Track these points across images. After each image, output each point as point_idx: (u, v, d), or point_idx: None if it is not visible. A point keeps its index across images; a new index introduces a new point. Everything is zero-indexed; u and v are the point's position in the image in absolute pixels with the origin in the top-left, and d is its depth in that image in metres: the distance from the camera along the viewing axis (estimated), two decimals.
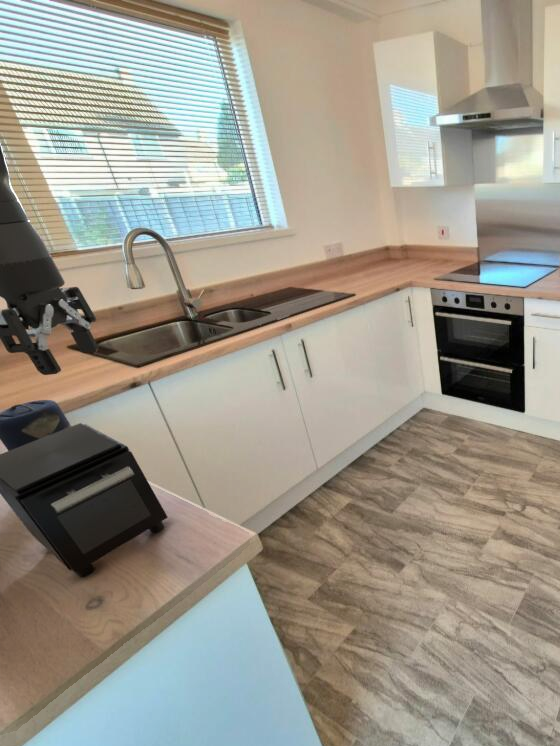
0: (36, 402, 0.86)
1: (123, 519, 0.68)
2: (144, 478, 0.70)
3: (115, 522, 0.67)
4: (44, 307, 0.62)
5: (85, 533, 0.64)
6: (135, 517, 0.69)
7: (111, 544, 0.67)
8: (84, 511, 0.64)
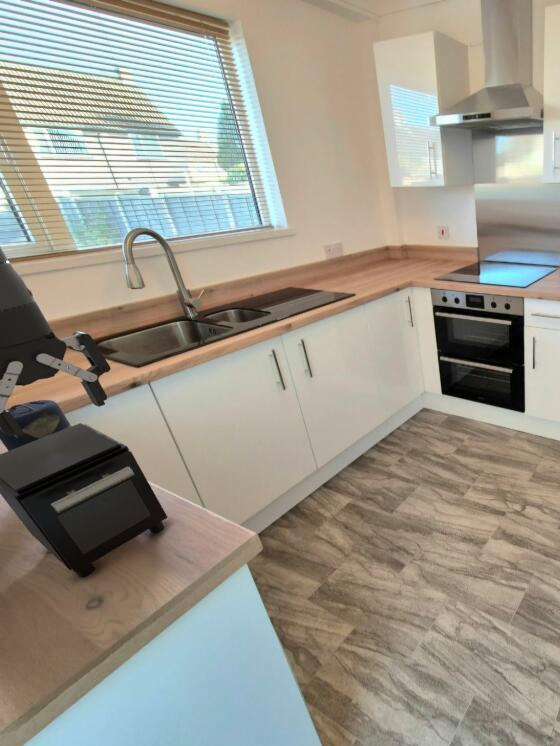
0: (36, 402, 0.86)
1: (123, 519, 0.68)
2: (144, 478, 0.70)
3: (115, 522, 0.67)
4: (8, 365, 0.52)
5: (85, 533, 0.64)
6: (135, 517, 0.69)
7: (111, 544, 0.67)
8: (84, 511, 0.64)
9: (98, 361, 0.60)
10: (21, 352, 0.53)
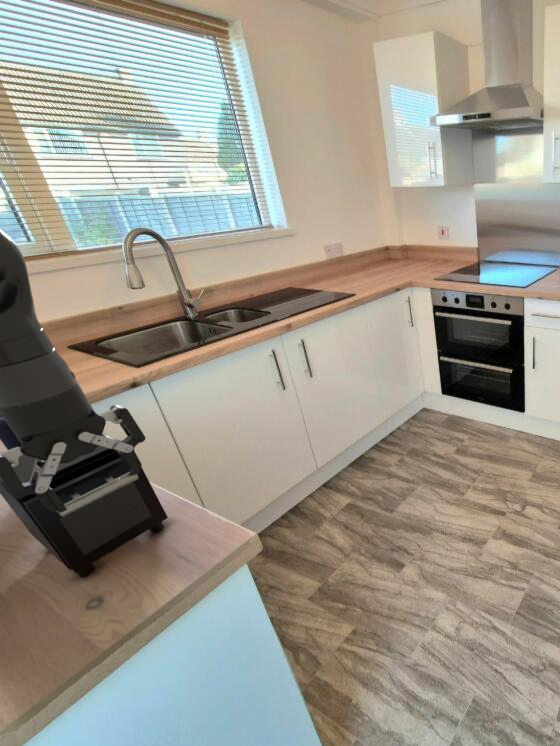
0: None
1: (124, 521, 0.68)
2: (146, 480, 0.69)
3: (116, 523, 0.67)
4: (53, 446, 0.55)
5: (87, 535, 0.64)
6: (136, 518, 0.69)
7: (112, 545, 0.67)
8: (87, 513, 0.63)
9: (134, 432, 0.62)
10: (64, 432, 0.56)
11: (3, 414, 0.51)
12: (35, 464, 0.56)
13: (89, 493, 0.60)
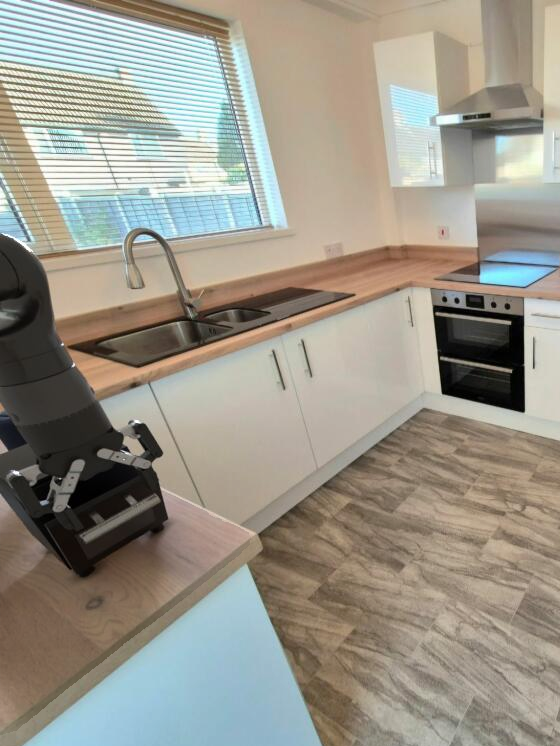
0: None
1: (131, 527, 0.68)
2: (160, 492, 0.69)
3: (123, 531, 0.67)
4: (71, 463, 0.53)
5: (95, 544, 0.64)
6: (141, 523, 0.69)
7: (114, 548, 0.67)
8: None
9: (152, 448, 0.61)
10: (83, 449, 0.54)
11: (22, 432, 0.50)
12: (52, 482, 0.54)
13: (114, 520, 0.60)
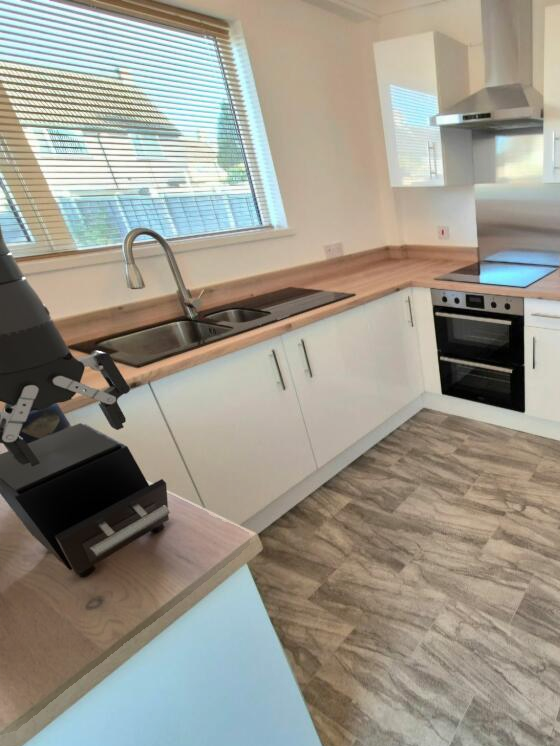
0: None
1: None
2: (166, 498, 0.68)
3: None
4: (23, 389, 0.48)
5: None
6: None
7: (115, 549, 0.67)
8: None
9: (117, 382, 0.56)
10: (37, 375, 0.50)
11: None
12: (3, 410, 0.49)
13: (124, 532, 0.60)
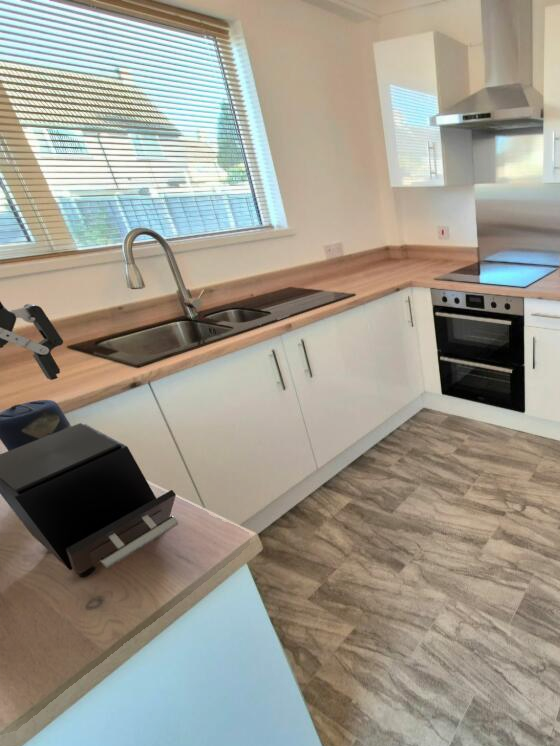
0: (36, 402, 0.86)
1: (136, 534, 0.68)
2: (171, 505, 0.68)
3: (129, 538, 0.67)
4: None
5: (103, 552, 0.64)
6: (146, 529, 0.69)
7: None
8: None
9: (50, 334, 0.60)
10: None
11: None
12: None
13: (134, 545, 0.60)
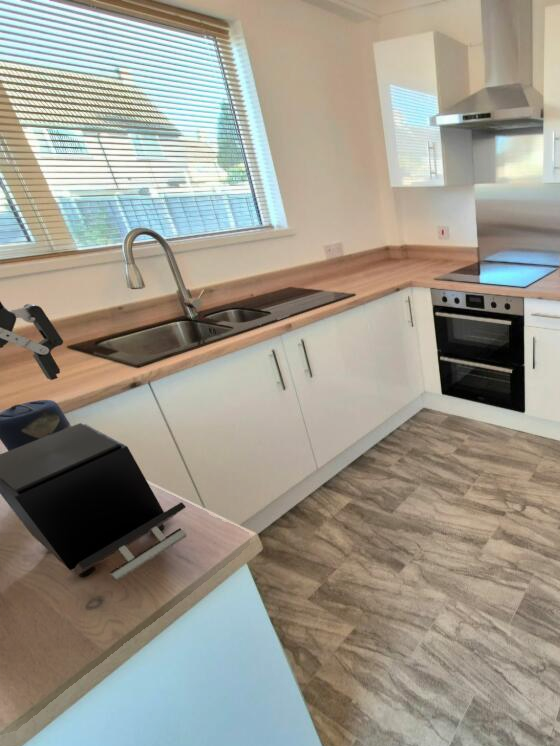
0: (36, 402, 0.86)
1: None
2: (177, 513, 0.69)
3: (132, 542, 0.67)
4: None
5: (106, 557, 0.64)
6: (148, 532, 0.69)
7: None
8: None
9: (50, 334, 0.60)
10: None
11: None
12: None
13: (144, 558, 0.61)
